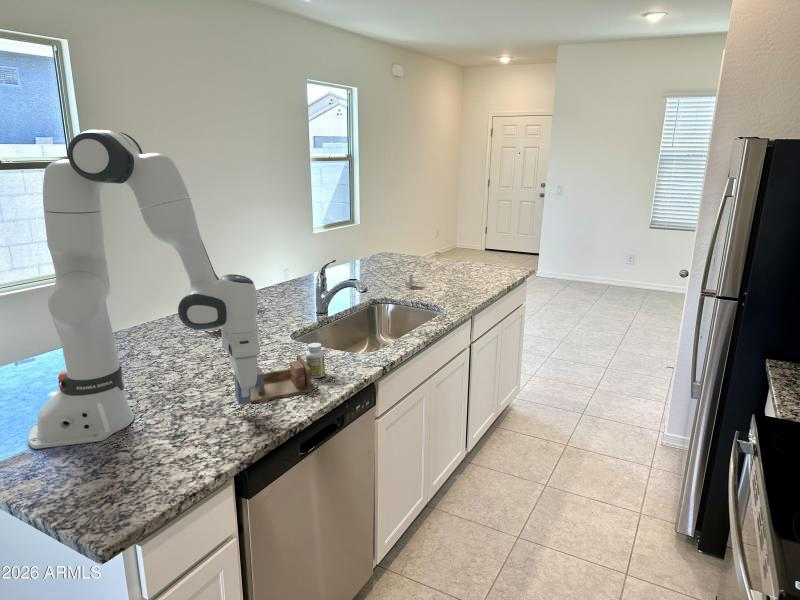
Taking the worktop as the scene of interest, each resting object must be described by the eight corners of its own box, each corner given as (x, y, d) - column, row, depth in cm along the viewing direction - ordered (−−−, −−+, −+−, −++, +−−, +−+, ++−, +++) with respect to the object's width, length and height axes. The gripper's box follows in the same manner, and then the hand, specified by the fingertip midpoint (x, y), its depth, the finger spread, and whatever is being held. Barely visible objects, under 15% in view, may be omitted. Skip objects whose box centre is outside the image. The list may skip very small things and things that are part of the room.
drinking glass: (224, 327, 207) (221, 302, 204) (217, 333, 200) (214, 307, 198) (207, 327, 207) (205, 302, 205) (199, 332, 201) (197, 307, 198)
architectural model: (402, 289, 264) (402, 275, 262) (406, 286, 270) (406, 272, 268) (409, 290, 263) (409, 275, 261) (413, 287, 269) (413, 272, 267)
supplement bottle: (316, 370, 167) (315, 340, 164) (328, 374, 163) (327, 344, 161) (303, 375, 163) (301, 345, 160) (315, 380, 159) (313, 349, 157)
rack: (250, 403, 145) (248, 380, 143) (243, 386, 155) (241, 365, 153) (311, 391, 152) (310, 369, 150) (300, 376, 162) (299, 355, 160)
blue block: (238, 404, 135) (237, 382, 133) (235, 395, 140) (234, 374, 138) (250, 402, 136) (250, 380, 135) (247, 394, 141) (246, 372, 139)
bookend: (259, 395, 148) (257, 374, 146) (255, 387, 152) (253, 367, 151) (264, 393, 148) (263, 373, 147) (260, 386, 153) (259, 366, 151)
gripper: (221, 328, 141) (224, 376, 145) (233, 354, 124) (236, 409, 127) (246, 325, 144) (248, 373, 148) (261, 351, 126) (263, 404, 130)
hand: (242, 390), depth 137 cm, fingers closed on blue block, 5 cm apart
